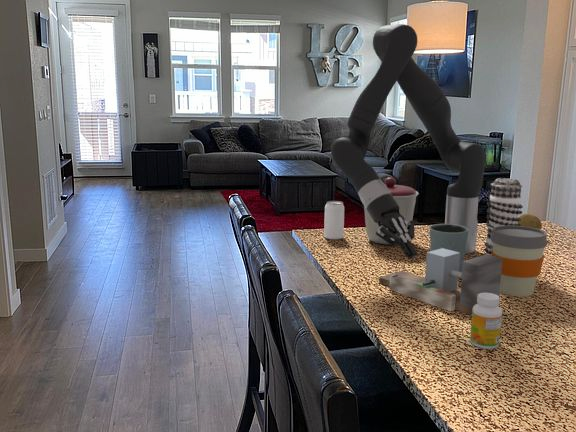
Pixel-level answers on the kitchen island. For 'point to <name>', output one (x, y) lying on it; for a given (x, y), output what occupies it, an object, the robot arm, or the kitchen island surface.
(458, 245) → the teal gray cup
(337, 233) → the can
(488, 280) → the track
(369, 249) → the kitchen island surface
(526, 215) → the potato
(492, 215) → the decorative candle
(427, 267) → the block
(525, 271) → the reusable coffee cup
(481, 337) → the supplement bottle
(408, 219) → the canister
